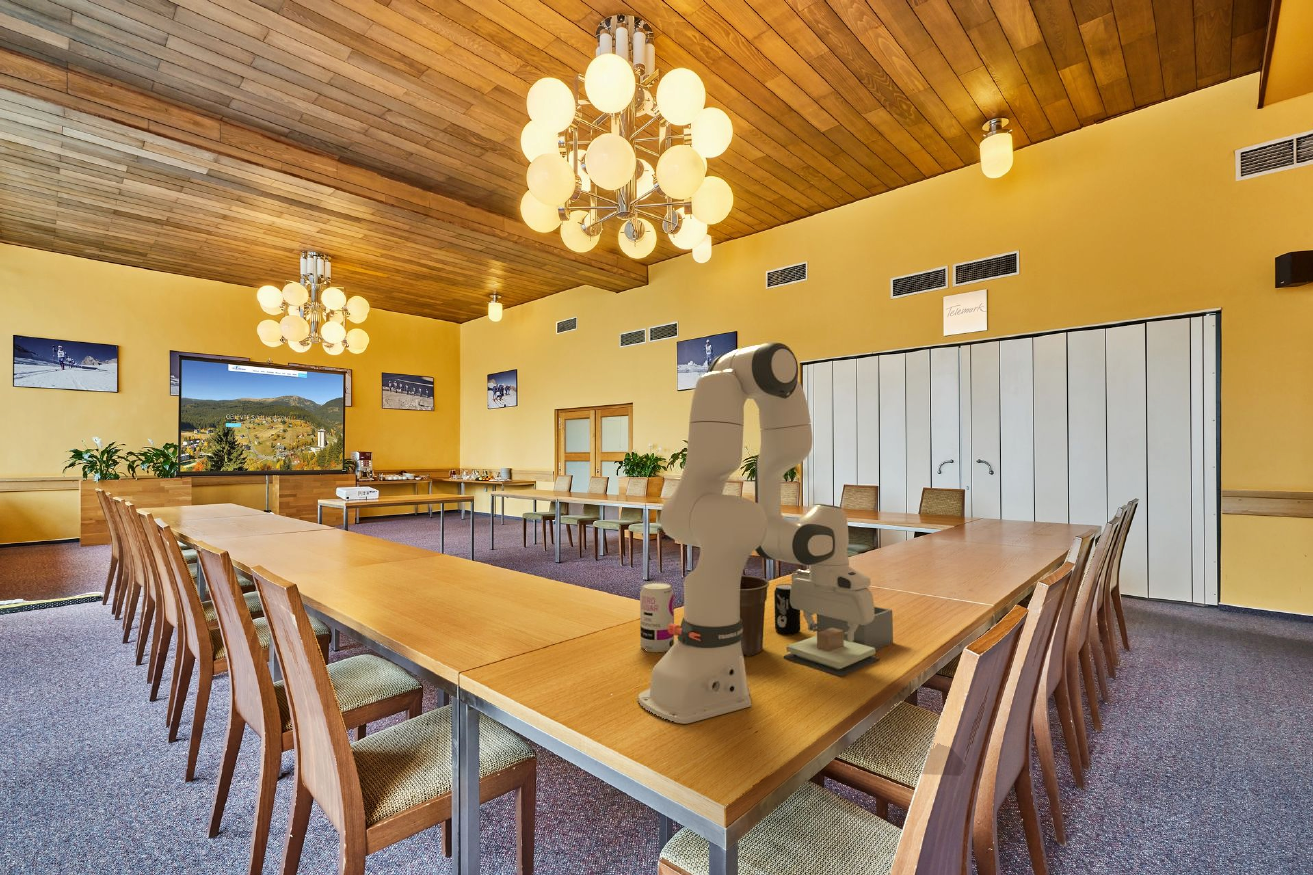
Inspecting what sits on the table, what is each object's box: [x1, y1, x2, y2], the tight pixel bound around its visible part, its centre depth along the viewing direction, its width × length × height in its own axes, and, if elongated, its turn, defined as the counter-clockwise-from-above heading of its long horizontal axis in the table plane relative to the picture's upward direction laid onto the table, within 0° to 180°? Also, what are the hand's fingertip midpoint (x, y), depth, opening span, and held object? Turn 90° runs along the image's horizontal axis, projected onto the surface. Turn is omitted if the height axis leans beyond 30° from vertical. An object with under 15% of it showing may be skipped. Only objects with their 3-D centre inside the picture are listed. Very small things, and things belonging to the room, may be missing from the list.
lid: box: [786, 628, 876, 669], centre depth 127 cm, size 14×14×6 cm
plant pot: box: [740, 575, 770, 657], centre depth 135 cm, size 16×16×16 cm
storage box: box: [816, 605, 894, 651], centre depth 139 cm, size 13×13×8 cm
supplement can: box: [639, 582, 675, 653], centre depth 136 cm, size 8×8×15 cm
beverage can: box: [773, 583, 801, 636], centre depth 148 cm, size 7×7×12 cm
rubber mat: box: [783, 652, 880, 678], centre depth 127 cm, size 15×15×1 cm
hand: (830, 635), depth 128 cm, fingers open, 8 cm apart
